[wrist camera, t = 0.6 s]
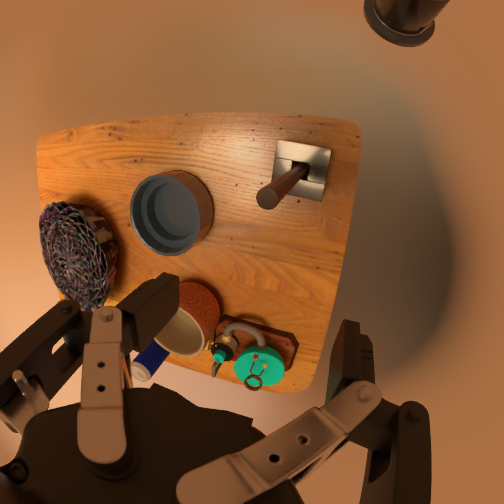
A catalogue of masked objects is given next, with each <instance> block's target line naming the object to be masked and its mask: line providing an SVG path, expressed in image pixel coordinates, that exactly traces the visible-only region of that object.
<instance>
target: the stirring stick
mask: <svg viewBox="0 0 504 504" xmlns="http://www.w3.org/2000/svg"><path fill="white" fill-rule="evenodd" d="M308 170H309V164H308V163H304V162H302V163H300V164H298V165H297V166H295V167H294V168H292V169H291V170H289V171H288V172H286V173H284V174H283V175H281V176H280V177H278V178H277V179H275V180H274V181H272V182H271V183H269V184H268V185H266V186H265V187H263V188H262V189H260V190H259V191H258V193H257V196H256V200H257V203H258V205H259V206H260V207H261V208H263V209H266V210H270V209H273V208H275V207H276V206H277V205H278V203H279V202H280V201H281V200H282V199H283V198H284V197H285V196H286V194H287V193H288V192H289V191H290V190H291V189H292V188H293V187H294V185H295V184H296V183H297V182H298V181H299V180H300V179H301V178H302V177H303V175H304V174H305V173H306V172H307V171H308Z"/></svg>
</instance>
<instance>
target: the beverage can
mask: <svg viewBox="0 0 504 504" xmlns="http://www.w3.org/2000/svg"><path fill="white" fill-rule="evenodd" d="M169 354H170V352H169V351H167V350H165V349H164V348H163V347H161V346H160V345H159V344H158V343H157V342H156V341H155V339H153V340H152V342H151V343H150V344H149V345H148V346H147V347H146V349H145V350H144V351H143V352H142V353H139V354H138V356H137V357H136V358H135V359H134V360H133V361H132V362H131V371H132V375H133V376H134V377H135V378H136V379H137V380H139V381H142V382H146V381H148V380H149V379H150V378H151V377H152V376H153V374H154V373H155V372H156V371H157V369H158V368H159V367H160V365H161V364H162V363H163V361H164V360H165V359H166V357H167V356H168V355H169Z"/></svg>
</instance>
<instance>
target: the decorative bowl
mask: <svg viewBox="0 0 504 504" xmlns="http://www.w3.org/2000/svg"><path fill="white" fill-rule="evenodd" d="M39 228H40V242H41V247H42V253H43V258H44V261H45V264H46V266H47V268H48V270H49V273H50V275H51V277H52V279H53V281H54V283H55V285H56V286H57V288H58V289H59V290H60V291H61V293H62V294H63V295H64V296H65V298H66V299H73V300H76V301H78V302H79V304H80V307H81V309H82V310H83V311H88V312H94V311H95V310H97V309H98V308H100V307H103V306H104V303H105V301H106V299H107V297H108V295H109V293H110V292H111V290H112V288H113V286H114V281H115V279H116V272H117V270H118V263H117V255H118V252H119V249H120V248H119V244H118V242H117V241H116V240H115V239H114V235H113V232H112V231H111V229H110V228H109V223H108V221H107V220H106V219H105V218H104V217H101V214H100V213H99V212H98V211H95V210H92V208H91V207H90V206H89V205H81V204H71V203H66V202H64V201H62V202H58V203H55V202H52V204H47V205H46V206H45V208H44V209H43V212H42V214H41V215H40V219H39Z"/></svg>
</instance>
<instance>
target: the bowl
mask: <svg viewBox="0 0 504 504" xmlns="http://www.w3.org/2000/svg"><path fill="white" fill-rule="evenodd" d="M130 216H131V220H132V224H133V228H134V230H135V231H136V233H137V235H138V237H139V239H140V240H141V241H142V242H143V243H144V244H145V245H146V246H147V247H148V248H149V249H151V250H152V251H154V252H155V253H157V254H161V255H164V256H178V255H180V254H183V253H185V252H187V251H188V250H189V249H191V248H192V247H193V246H194V245H196V244H197V243H198V242H200V241H201V240H202V239H203V238H204V237H205V235H206V234H207V233H208V231H209V229H210V226H211V224H212V219H213V206H212V201H211V197H210V195H209V194H208V192H207V190H206V188H205V186H204V185H203V184H202V183H201V182H200V181H199V180H198V179H197V178H196V177H194V176H192V175H190V174H189V173H187V172H183V171H175V170H174V171H170V172H165V173H162V174H158V175H154V176H150V177H147V178H146V179H145V180H143V181H142V182H141V183H140V184H139V185H138V186H137V188H136V189H135V191H134V193H133V196H132V199H131V203H130Z"/></svg>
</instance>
